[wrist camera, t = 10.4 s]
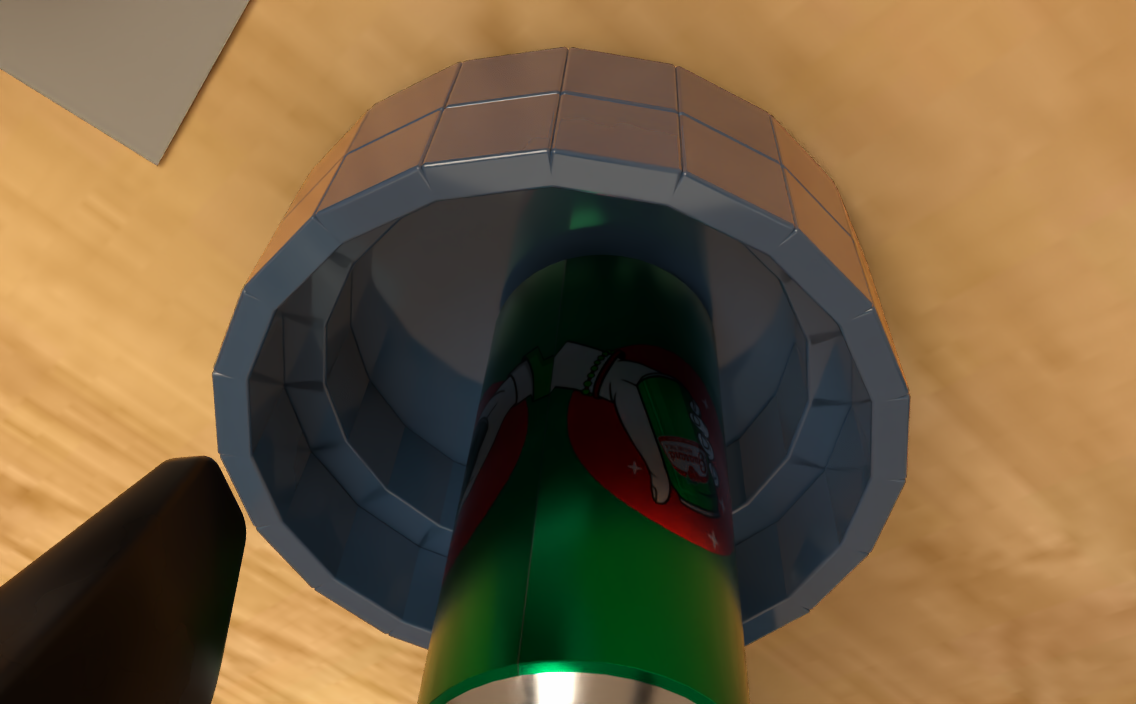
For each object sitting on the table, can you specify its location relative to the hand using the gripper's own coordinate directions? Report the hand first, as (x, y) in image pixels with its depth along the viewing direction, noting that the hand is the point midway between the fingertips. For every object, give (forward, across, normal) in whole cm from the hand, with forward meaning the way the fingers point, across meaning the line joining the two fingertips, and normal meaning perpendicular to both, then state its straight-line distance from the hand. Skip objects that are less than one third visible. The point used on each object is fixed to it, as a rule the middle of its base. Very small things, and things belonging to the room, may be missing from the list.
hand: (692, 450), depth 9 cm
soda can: (+13, +2, +7) cm, 15 cm away
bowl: (+13, +3, +7) cm, 15 cm away
